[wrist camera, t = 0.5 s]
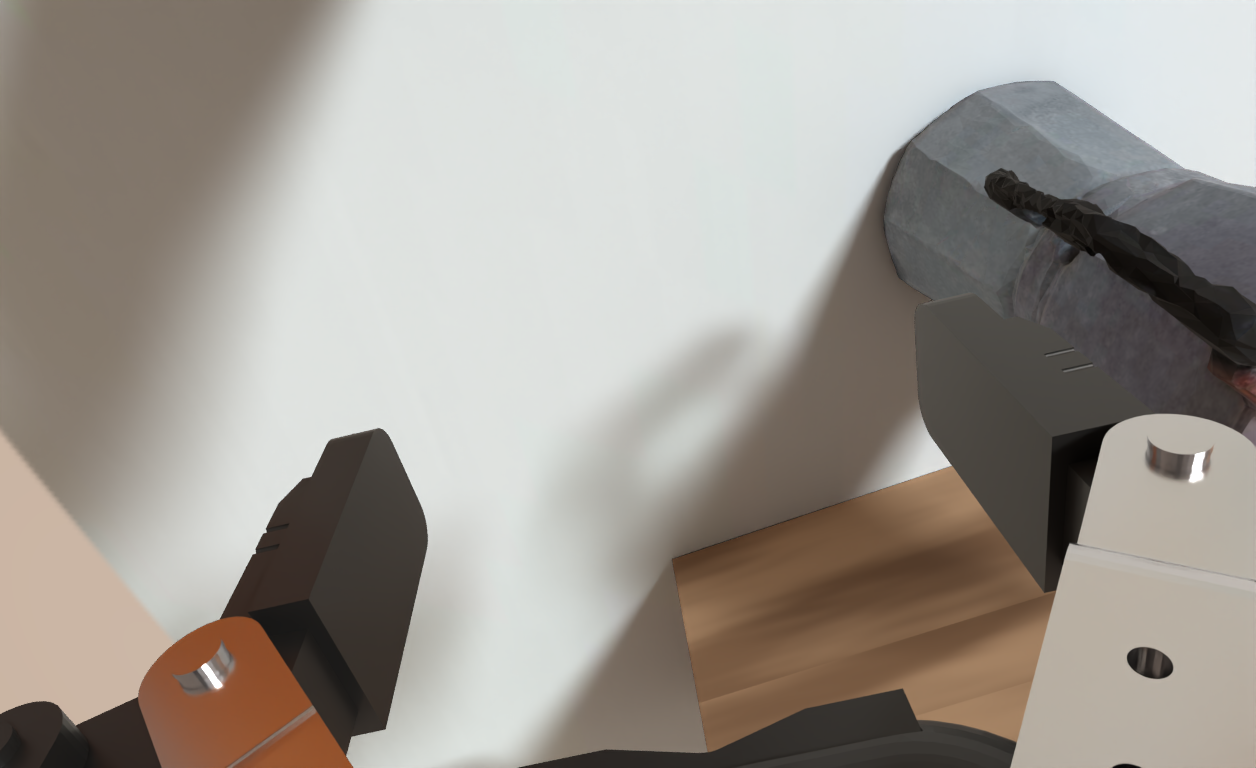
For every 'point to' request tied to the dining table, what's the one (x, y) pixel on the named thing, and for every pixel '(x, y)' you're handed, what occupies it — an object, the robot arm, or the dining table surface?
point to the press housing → (865, 613)
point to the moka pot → (1087, 244)
